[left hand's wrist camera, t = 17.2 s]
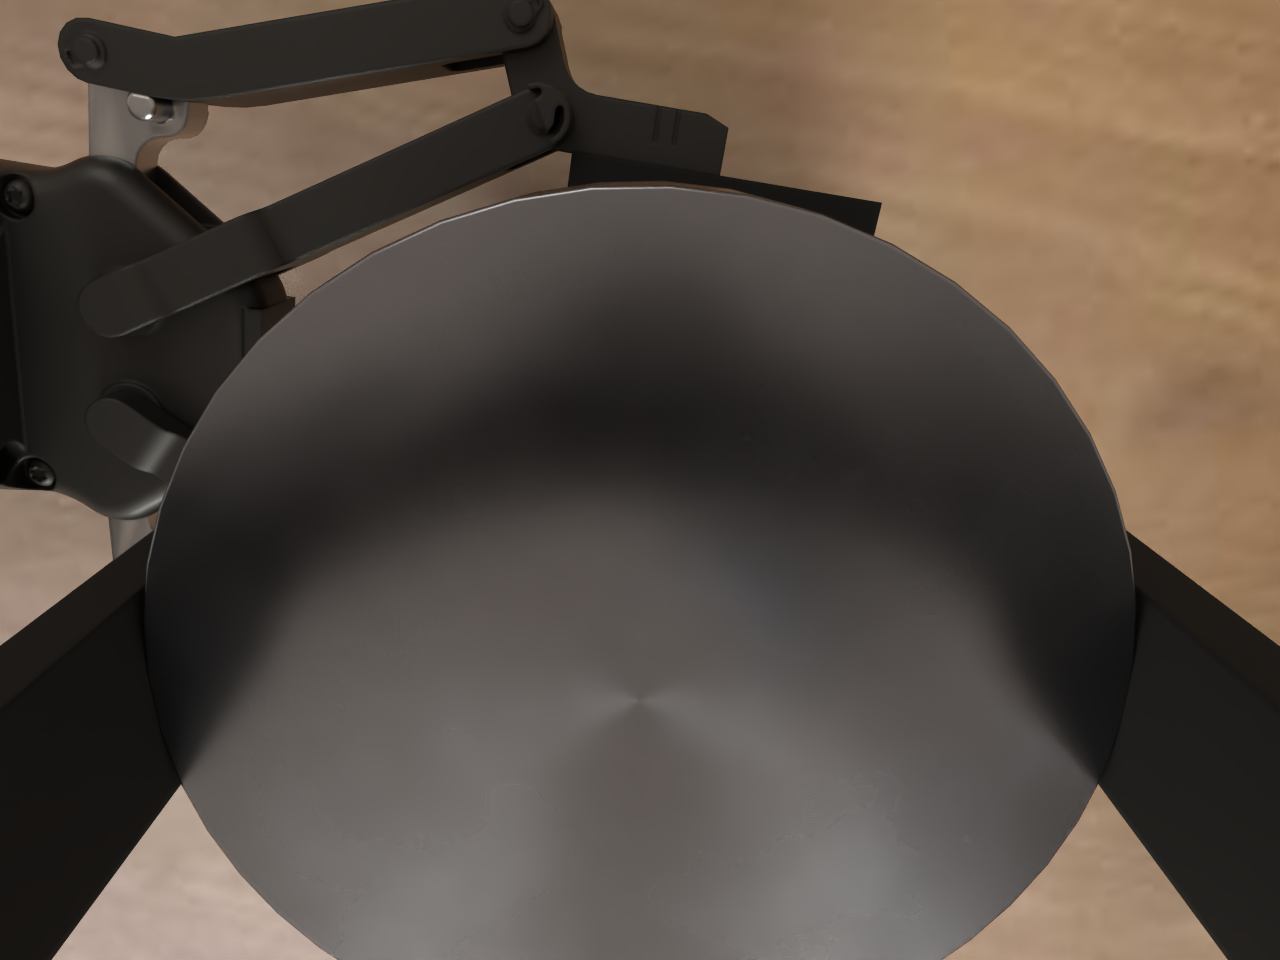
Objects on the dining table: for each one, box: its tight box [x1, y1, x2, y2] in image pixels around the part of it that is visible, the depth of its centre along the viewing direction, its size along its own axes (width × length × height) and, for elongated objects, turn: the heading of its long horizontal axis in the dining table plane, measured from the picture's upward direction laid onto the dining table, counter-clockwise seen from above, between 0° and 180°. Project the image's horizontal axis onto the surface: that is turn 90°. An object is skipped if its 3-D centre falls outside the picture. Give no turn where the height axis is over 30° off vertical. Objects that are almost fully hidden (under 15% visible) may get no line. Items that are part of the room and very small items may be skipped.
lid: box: [143, 181, 1137, 960], centre depth 11 cm, size 12×12×2 cm
